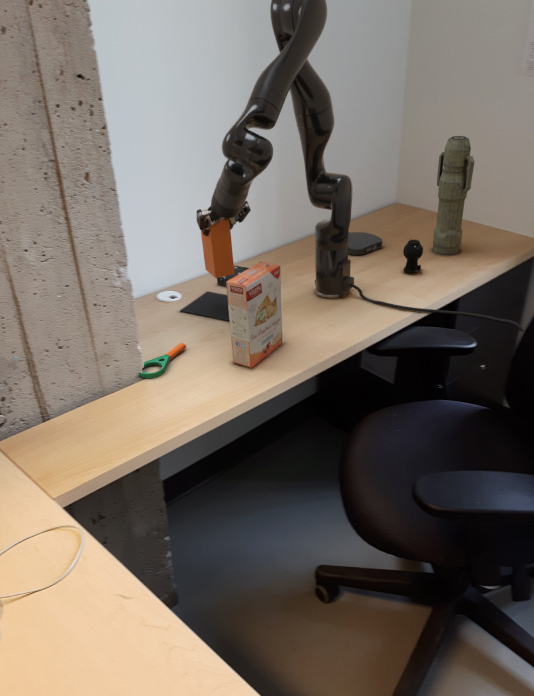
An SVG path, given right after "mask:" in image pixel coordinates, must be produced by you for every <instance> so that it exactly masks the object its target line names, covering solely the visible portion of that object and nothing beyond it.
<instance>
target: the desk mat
mask: <svg viewBox="0 0 534 696" xmlns="http://www.w3.org/2000/svg"><path fill="white" fill-rule="evenodd" d="M179 312H180V313H184V314H188V315H189V314H190V315H195V316H199V317H204V318H210V319H214V320H219V321H224V322H229V323H230V319H229V308H228V296H227V294H222V293H218V292H211V291H206V292H205V293H204V294H201V296H198V297H197V298H195V300H193V301H191V302H190V303H189V304H187V305H186V306H185V307H183V308H182V309H180V310H179Z"/></svg>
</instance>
